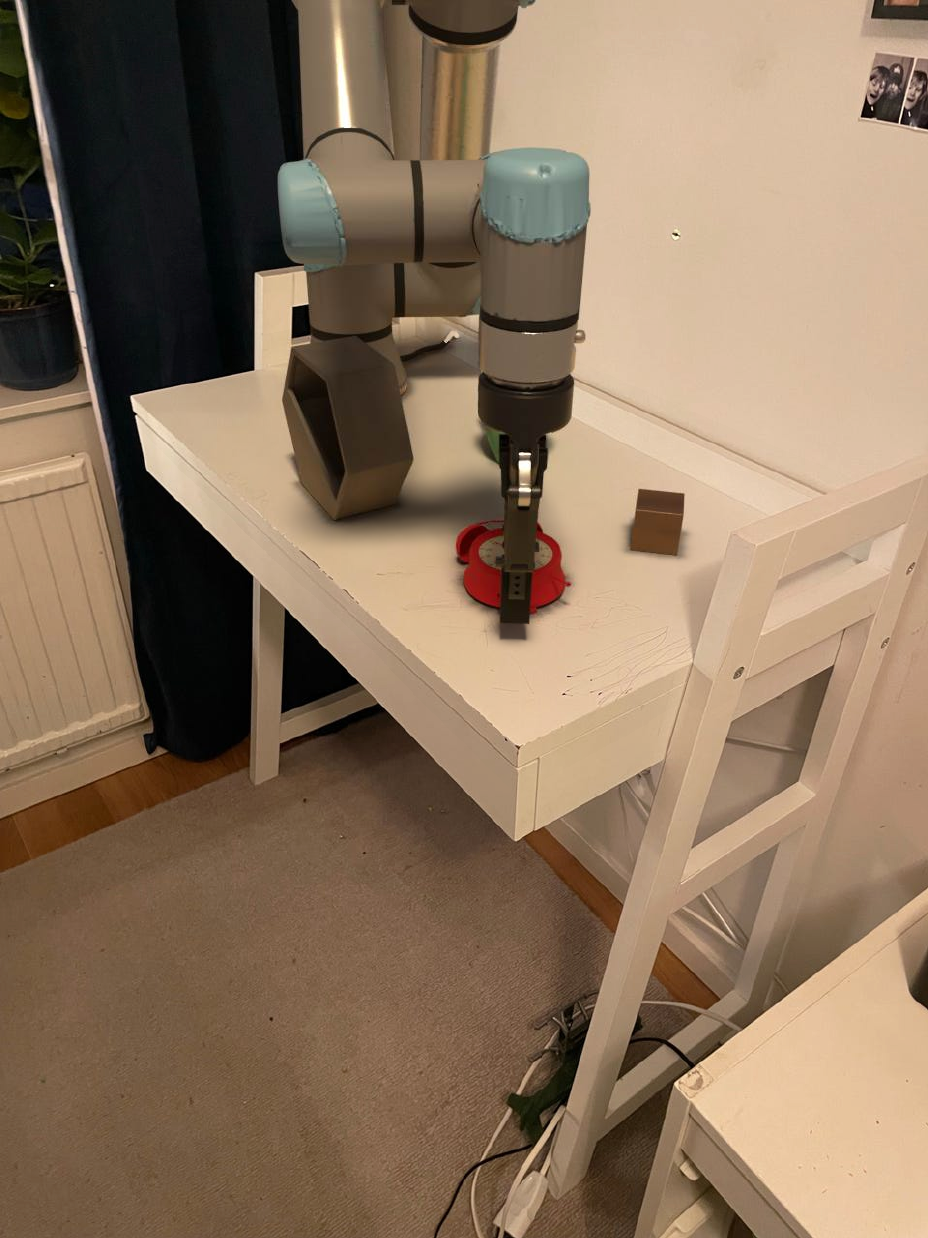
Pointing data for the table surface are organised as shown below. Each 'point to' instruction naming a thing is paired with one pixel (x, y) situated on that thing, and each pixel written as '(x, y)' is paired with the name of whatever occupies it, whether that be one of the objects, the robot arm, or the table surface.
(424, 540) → the table surface
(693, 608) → the table surface
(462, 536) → the alarm clock
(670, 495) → the walnut block
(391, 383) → the hexagonal wooden shelf
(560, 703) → the table surface
